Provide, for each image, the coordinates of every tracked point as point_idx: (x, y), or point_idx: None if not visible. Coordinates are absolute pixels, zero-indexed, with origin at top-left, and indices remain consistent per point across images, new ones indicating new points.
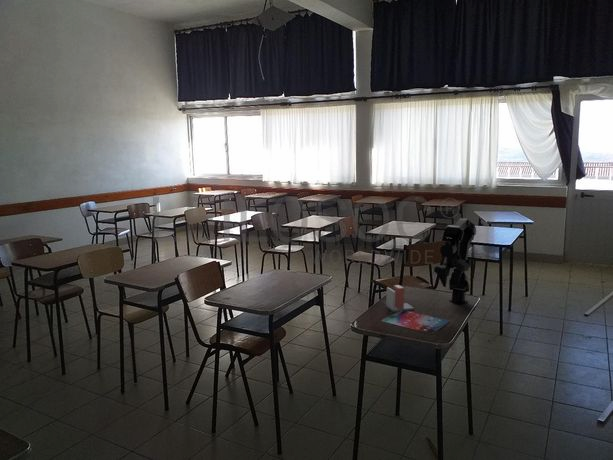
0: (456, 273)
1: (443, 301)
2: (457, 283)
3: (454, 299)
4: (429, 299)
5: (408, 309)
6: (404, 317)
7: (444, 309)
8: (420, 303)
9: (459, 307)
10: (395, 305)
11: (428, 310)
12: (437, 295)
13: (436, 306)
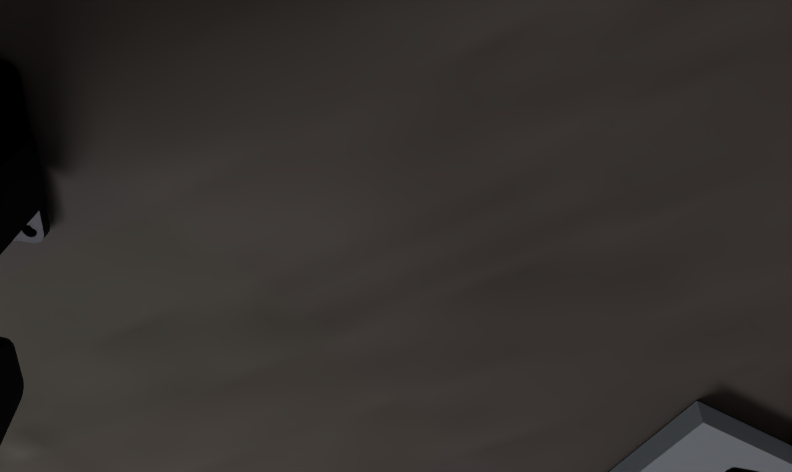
0: None
1: (123, 281)
2: (11, 342)
3: (19, 183)
4: (213, 409)
5: (760, 438)
6: None
7: (399, 137)
8: (419, 424)
9: (122, 6)
10: None
11: (603, 274)
12: None
13: (370, 266)
